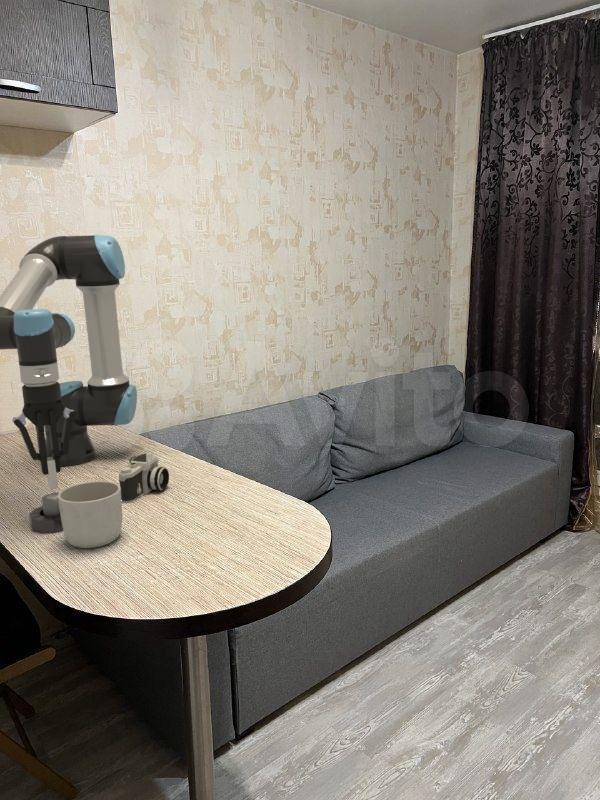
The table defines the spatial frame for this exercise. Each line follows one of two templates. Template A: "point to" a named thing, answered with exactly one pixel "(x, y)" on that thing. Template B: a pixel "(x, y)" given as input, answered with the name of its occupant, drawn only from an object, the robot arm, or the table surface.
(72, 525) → the planter
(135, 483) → the camera
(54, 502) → the cap
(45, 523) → the grey ring
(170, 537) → the table surface
